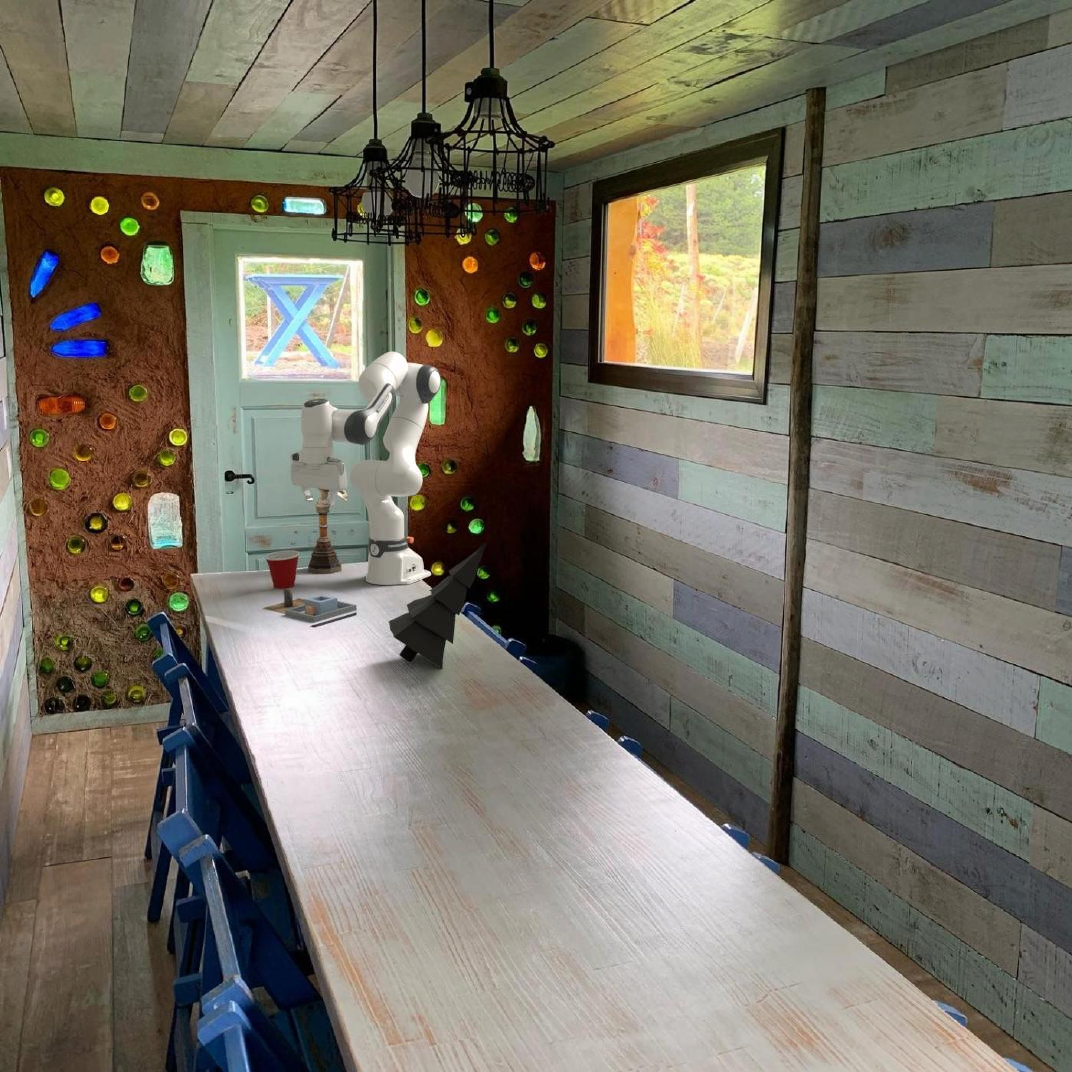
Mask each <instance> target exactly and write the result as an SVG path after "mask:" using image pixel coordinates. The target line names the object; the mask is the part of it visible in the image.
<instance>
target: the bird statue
mask: <svg viewBox="0 0 1072 1072" xmlns="http://www.w3.org/2000/svg"><path fill="white" fill-rule="evenodd" d="M316 489H317V490H319V491H320V495H321V497H319V498H318V499H317V501H316V503H315V505H314V507H315V512H316V513H317V514H318V517H319V518H318V521H319V522H318V523H319V524H318V528H319V537H318V538H317V539H316V544H315V547H314V549H313V550H312V552H311V554H310V556H311V557H310V560H309V563H308V565H307V572H308V573H310V574H316V575H325V574H326V575H328V574H335V573H339V572H342V563H341V562H340V560H339V558H338V555H337V552H336V550H335V548H334V546H332V543H331V541H332V540H331V539H330V538H329V537H328V527H329V525H328V517H327V516H328V514H329V513H330V508H331V505H328V504H327V499H328V497H329V490H326V489H319V488H316ZM337 497H340V499H342V501H344V502H348V500H347V498H348V497H349V495H348V493H347V492H346V490H343V491H338V494H337Z"/></svg>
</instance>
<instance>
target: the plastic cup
mask: <svg viewBox="0 0 1072 1072" xmlns="http://www.w3.org/2000/svg"><path fill="white" fill-rule="evenodd" d="M300 554H301V553H300V551H297V550H280V551H274V552H271V553H267V554H265V555H264V559H265V561H266V563H267V565H268V569H269V572H270V576H271V581H272V585H273V589H278V590H284V589H292V588H294V587H295V584H296V583H295V582H296V577H297V569H298V563H299V562H298V560H299V556H300Z"/></svg>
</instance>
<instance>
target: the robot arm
mask: <svg viewBox="0 0 1072 1072" xmlns="http://www.w3.org/2000/svg"><path fill="white" fill-rule="evenodd" d="M441 385H442V377H441V374H440V372H439V370H438V369H437V368H436V367H435V366H432V365H430V364H429V365H428V364H420V363H414V362H407V360H406V358H405V357H404V355H402V354H401V353H400V352H397V351H388V352H385V353H384V354H382V355H380V356H378V357H377V358H376V359H374V360H373V361H372V362H371V363H370V364H369V365H367V367H365V368H364V370H363V371H362V372H361V374H360V375H359V377H358V389H359V391H360V393H361V395H362V396H363V397H364V399H366V401H367V402H369V403H368V404H367V406H366V407H365V408H362V409H341V408H338V407H335V406H333V405H332V404H331V403H330V401H329V400H328V399H325V398H314V399H310V400H307V401H305V402H304V403H303V404H302V408H301V414H300V415H301V416H300V431H301V435H302V443H301V450H298V451H296V452H293V453H292V452H291V453H290V455H289V457H290V461H291V463H290V481H291V482H292V485H293V486H297V487H298V486H299V487H301V488H300V489H301V491H302V492H301V493H302V494H303V496H304V502H306V503H307V502H308V503H311V502H313V500H314V499H313V497H314V496H313V495H311V491H310V489H311V488H314V489H317V488H319V489H326V490H329V492H328V495H329V498H327V504H328V505H330V506H335V505H336V499H337V497H338V495H337V494H338V491H343V490H345V491H346V490H347V488H348V478H347V477H348V476H347V471H346V468H345V467H346V466H345V463H344V462H343V461H342V459H340V458H339V457H338V458H337V457H336V458H335V457H334V456H335V455H334V442H337V443H349V444H353V445H354V444H356V445H361V446H365V445H367V444H369V443H370V442H371V441H373V439H374V438H375V436H376V434H377V431H378V428H379V426H380V424H381V423H382V421H383V419H384V418H385V416H386V415H387V413H388V412H389V410H390V409H391V407H392V406H393V404H394V401H395V398H396V397H399V403H398V404H397V405H396V407H395V409H394V411H393V413H392V415H391V418H390V420H389V422H388V425H387V428H386V430H385V433H384V435H383V438H382V442H383V445H384V447H385V450H387V451H388V452H389V457H388V459H387V460H380V459H377V460H376V459H365V460H359V461H357V462H356V463H353V466H352V467H351V470H350V472H349V480H350V483H351V486H352V487H353V489H355V490H356V491H357V492H358V494H360V496H361V498H362V500H363V503H364V505H365V508H366V510H367V514H368V522H369V523H368V525H369V537H368V542H367V543H368V549H369V552H368V559H367V560H368V561H367V572H366V573H365V582H367V583H369V584H373V585H382V586H392V585H411V584H413V583H416V582H418V581H420V580H423V579H425V578H428V577H430V576H431V575H432V573H431V571H429V570H427V569H424V568H425V567H424V561H423V558H422V557H421V556H420V555H419V554H418V553H416V552H415V551H413V549H411V548H410V547H409V544H413V543H414V540H415V539H414V537H412V536H407V537H405V515H404V513H403V511H402V510H401V508H399V507H398V506H397V505H396V504H395V503H394V501H393V498H392V497H399V498H405V497H412V496H415V495H417V494H418V493H419V492H420V490H421V488H422V485H423V479H424V478H423V474H422V472H421V469H420V468H419V466H418V465H417V463H416V453H417V449H418V445H419V442H420V440H421V437H422V434H423V432H424V428H425V425H426V422H427V417H428V413H429V404H430V403H431V402H432V401H433V399H434V398H435V397H436V396H437V394H438V392H439V391H440V388H441ZM319 489H318V490H319ZM418 579H419V580H418Z"/></svg>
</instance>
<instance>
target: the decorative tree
mask: <svg viewBox="0 0 1072 1072" xmlns="http://www.w3.org/2000/svg"><path fill="white" fill-rule="evenodd" d="M486 546H487V542H485V543H483V544H482V545H481V546H480V547H478V549H477V550H475V552H473V553H472V554H471V555H469V556H468V557H467V558H465V559H463V560H462V561H460V562H459V563H458V564H456V565H455V566H453V567H452V568H451V569H449V570H448V572H449V575H448V576H446V577H445V578H444V579H443V580H441V581H440V582H439V583H438V584H437V585H436V586H434V587H431V589H429V592H430V594H429V595H427V596H425V597H420V598H417V599H413V600H412V601H411V602H409V603H407V604H406V607H407V610H408V612H406V613H403V614H402V615H400V616H397V617H395V618H393V619H390V620H389V621H388V624H389V630H390V632H391V633H392V635H393V638H394V639H396V640H397V641H399V642H400V643H402V644H403V645H405V646H403V648H402V649H401V651H400V652H399V656H400V657H401V658H402V659H404V661H407V662H409V663H413V661H414V660H415V658H416V657H417V655H420V656H421V657H422V658H424V659H425V660H427V661H429V662H431V663H432V664H433V665H435V666H436V667H438V668H440V669H442V670H443V666H444V665H443V664H444V656H445V655H444V654H445V648H446V644H447V642H449V643H450V644H452V645H453V644H454V638H455V629H456V628H455V626H456V615H457V616H460V614H461V612H462V610H463V607H464V604H465V600H466V597H467V589H471V587H472V586H473V583H474V581H475V579H476V575H477V572H478V567H479V565H480V562H481V560H482V557H483V555H484V551H485V549H486Z"/></svg>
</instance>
